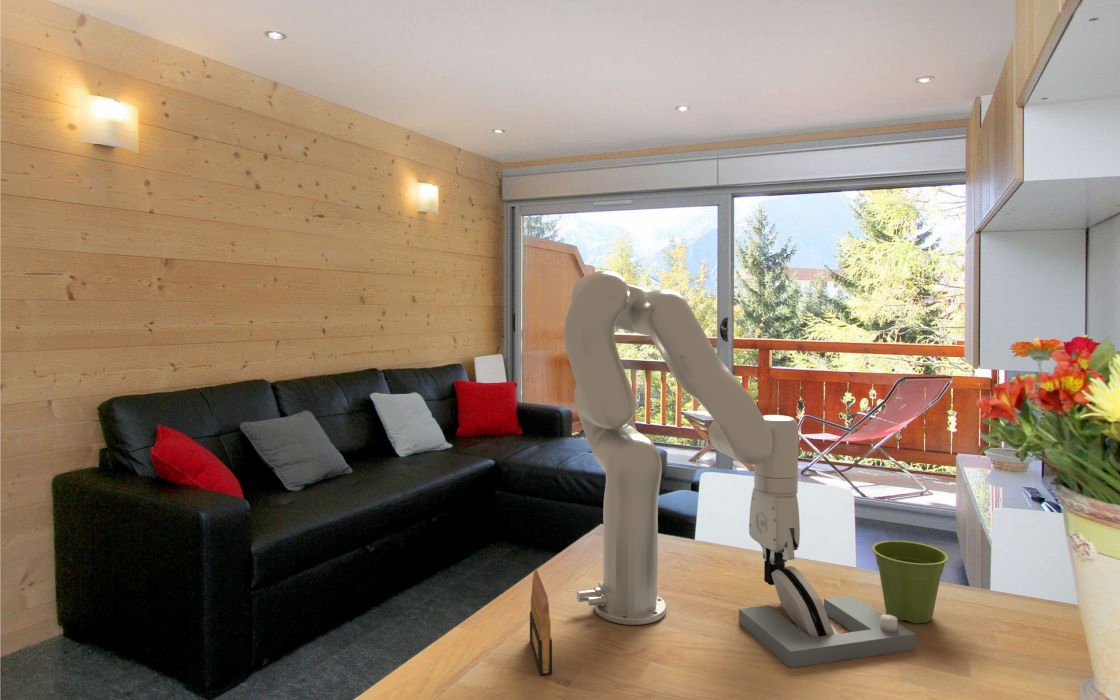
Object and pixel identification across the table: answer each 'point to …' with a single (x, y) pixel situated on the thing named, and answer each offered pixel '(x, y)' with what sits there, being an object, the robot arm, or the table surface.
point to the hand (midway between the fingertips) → (774, 582)
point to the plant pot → (909, 578)
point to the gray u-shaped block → (799, 649)
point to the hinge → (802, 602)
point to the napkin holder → (540, 627)
